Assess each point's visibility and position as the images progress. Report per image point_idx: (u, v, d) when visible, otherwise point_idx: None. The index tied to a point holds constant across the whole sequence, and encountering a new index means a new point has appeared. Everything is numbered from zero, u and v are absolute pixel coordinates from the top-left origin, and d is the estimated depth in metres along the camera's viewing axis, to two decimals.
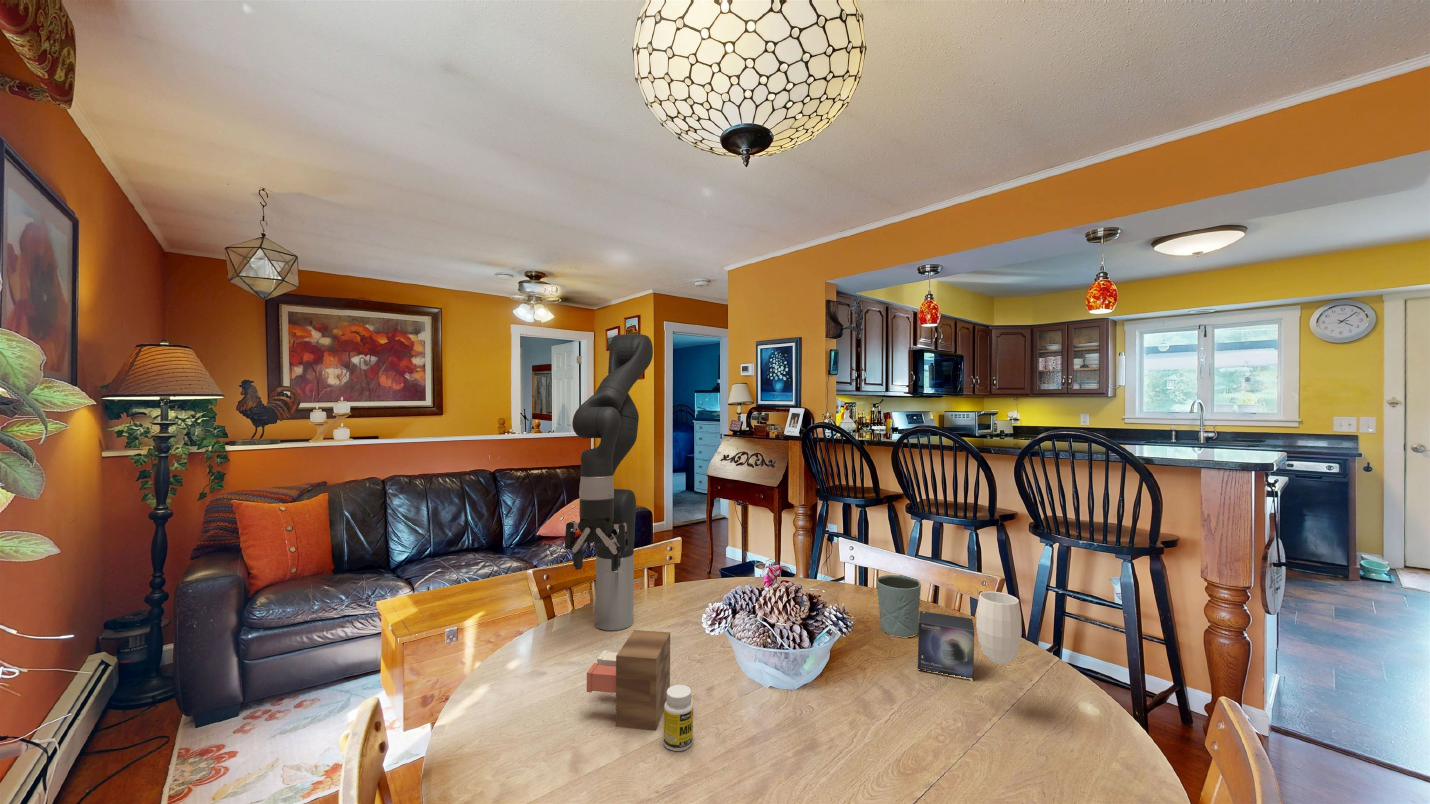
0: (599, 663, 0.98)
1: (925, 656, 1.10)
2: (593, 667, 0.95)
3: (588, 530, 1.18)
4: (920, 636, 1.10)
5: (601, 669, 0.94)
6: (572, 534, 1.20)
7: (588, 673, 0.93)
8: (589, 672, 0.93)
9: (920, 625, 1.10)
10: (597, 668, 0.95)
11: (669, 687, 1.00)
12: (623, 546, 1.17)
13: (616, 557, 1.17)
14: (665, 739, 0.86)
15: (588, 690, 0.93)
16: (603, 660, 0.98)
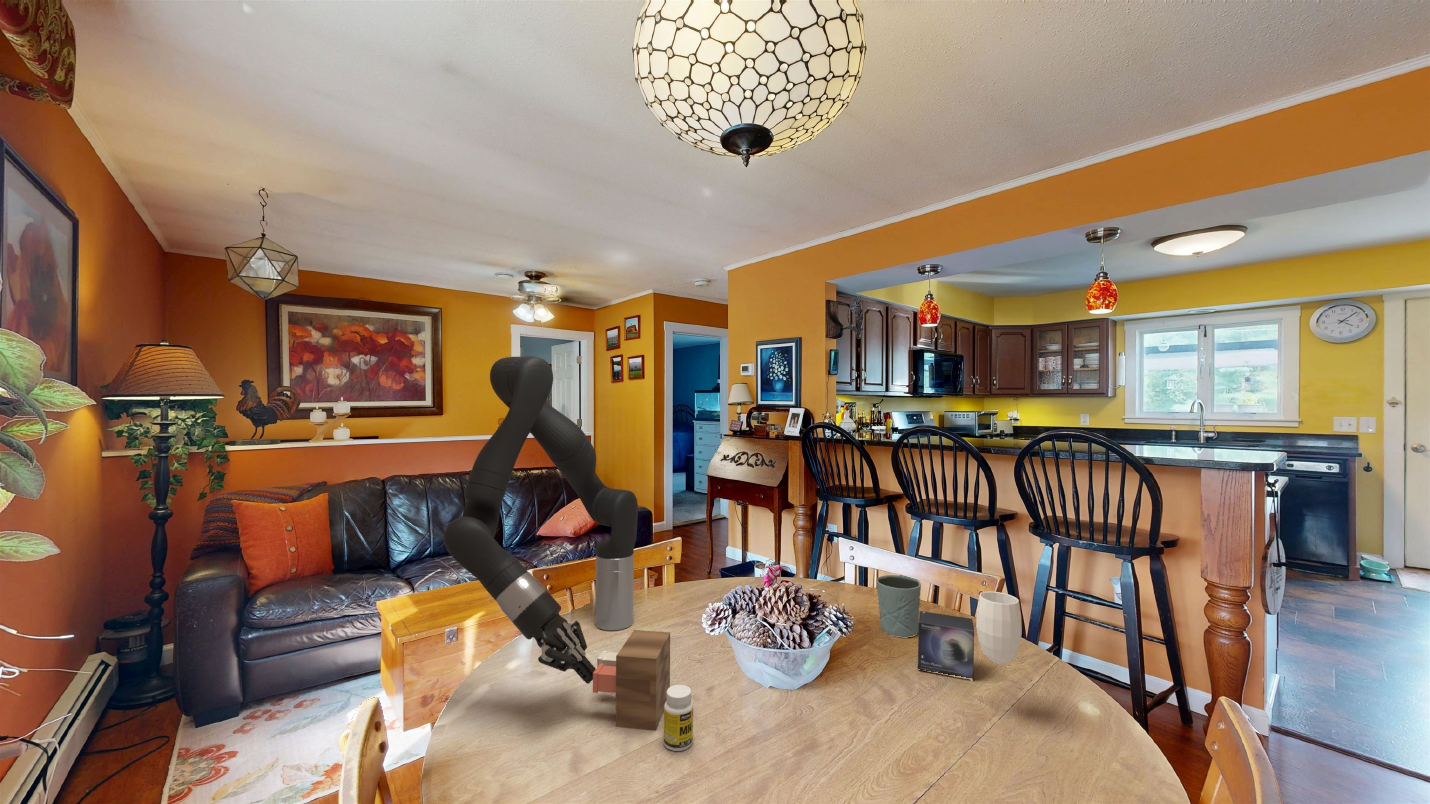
0: (599, 663, 0.98)
1: (925, 656, 1.10)
2: (599, 668, 0.94)
3: None
4: (920, 636, 1.10)
5: (607, 669, 0.94)
6: None
7: (594, 674, 0.93)
8: (595, 673, 0.93)
9: (920, 625, 1.10)
10: (603, 669, 0.94)
11: (669, 687, 1.00)
12: None
13: None
14: (665, 739, 0.86)
15: (594, 691, 0.93)
16: (603, 660, 0.98)
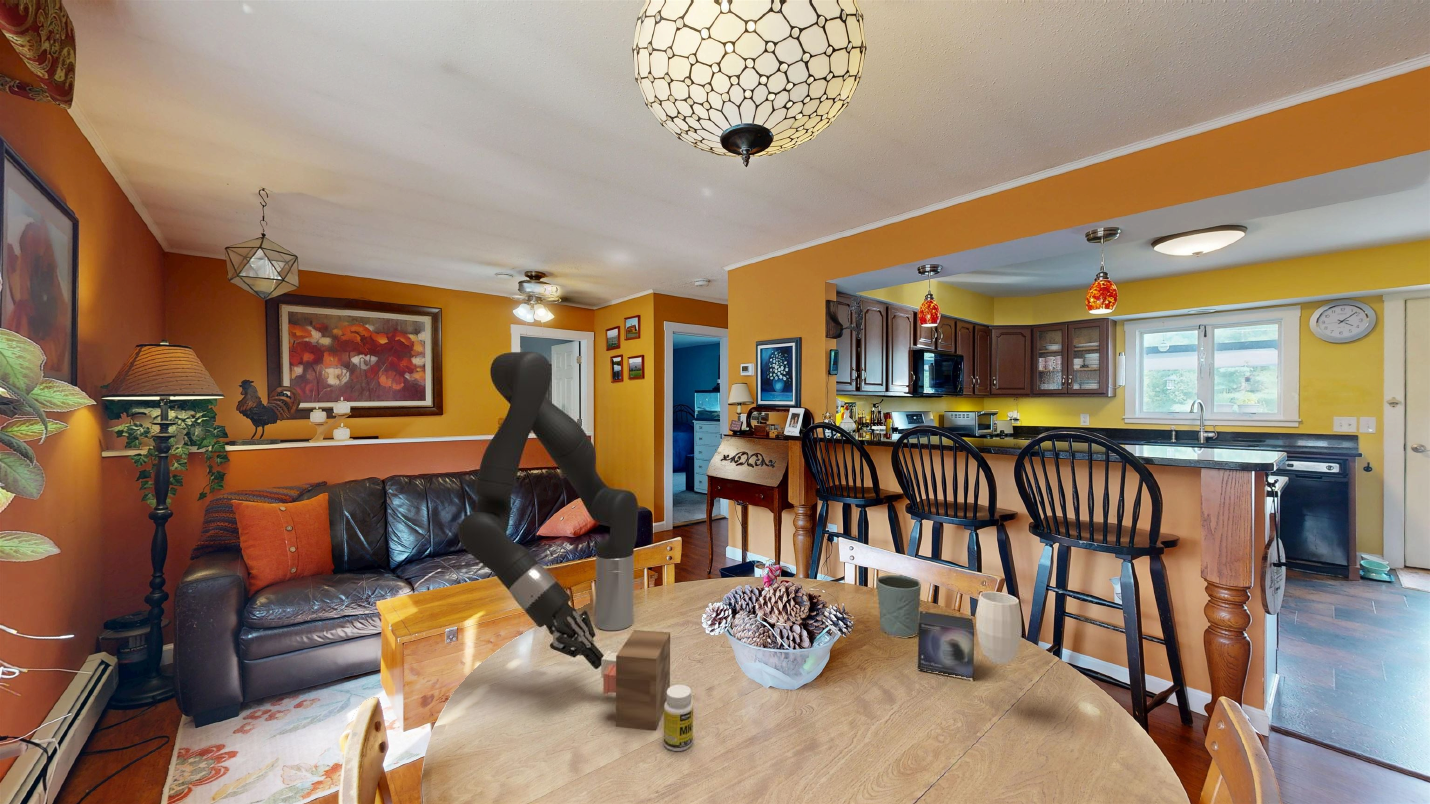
0: (603, 663, 0.98)
1: (924, 656, 1.10)
2: (609, 668, 0.94)
3: None
4: (920, 636, 1.10)
5: None
6: None
7: (605, 674, 0.92)
8: (606, 673, 0.93)
9: (920, 625, 1.10)
10: (613, 669, 0.94)
11: (669, 687, 1.00)
12: None
13: None
14: (665, 739, 0.86)
15: (605, 691, 0.92)
16: (607, 660, 0.98)
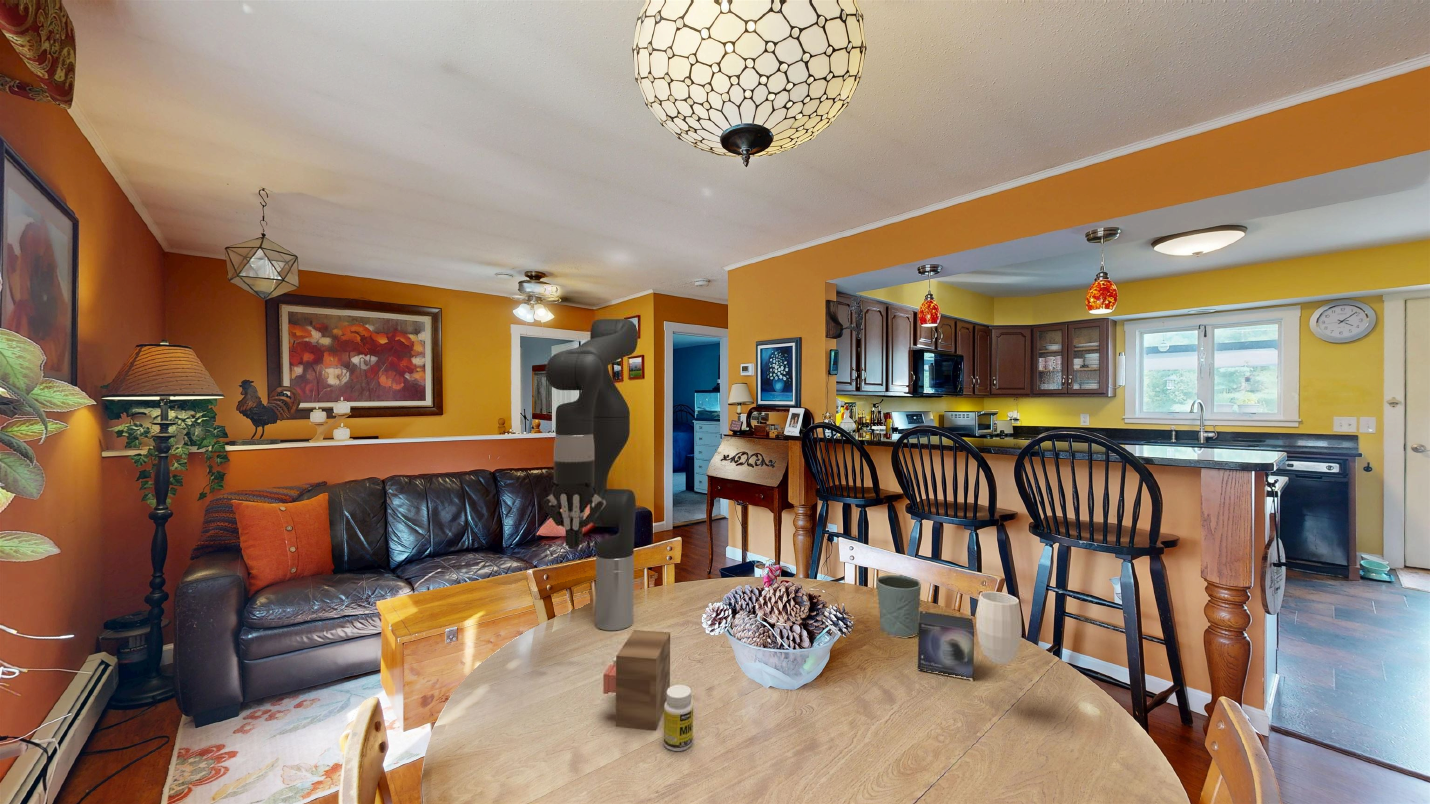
0: (615, 664, 0.97)
1: (924, 656, 1.10)
2: (609, 668, 0.94)
3: (564, 496, 1.01)
4: (920, 636, 1.10)
5: None
6: (555, 508, 1.03)
7: (605, 674, 0.92)
8: (606, 673, 0.93)
9: (920, 625, 1.10)
10: (613, 669, 0.94)
11: (669, 687, 1.00)
12: (586, 521, 1.01)
13: (577, 533, 1.02)
14: (665, 739, 0.86)
15: (605, 691, 0.92)
16: None
